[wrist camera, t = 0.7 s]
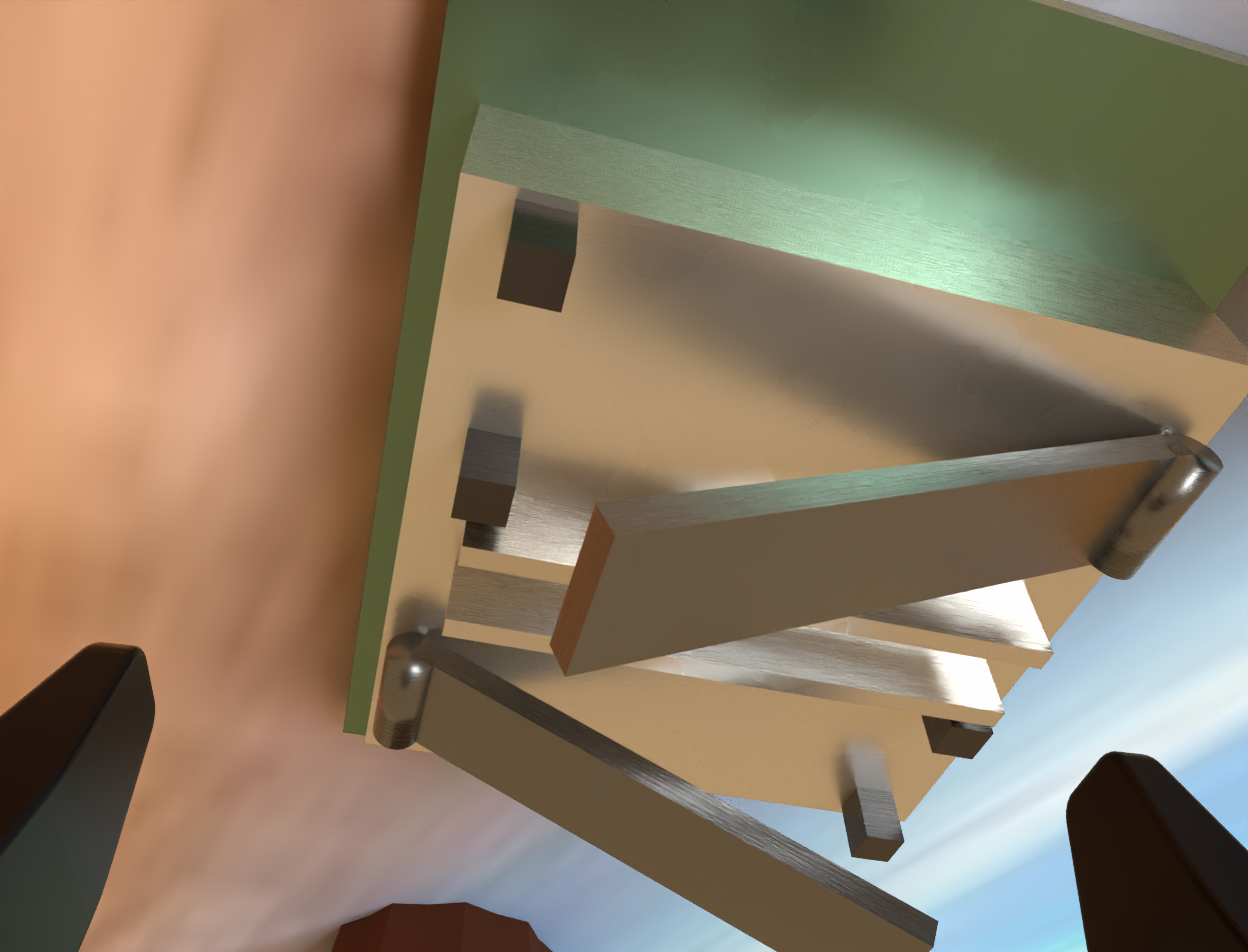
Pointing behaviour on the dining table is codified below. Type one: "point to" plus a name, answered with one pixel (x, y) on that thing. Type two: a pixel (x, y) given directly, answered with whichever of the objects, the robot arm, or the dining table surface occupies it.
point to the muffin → (437, 931)
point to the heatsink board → (853, 129)
